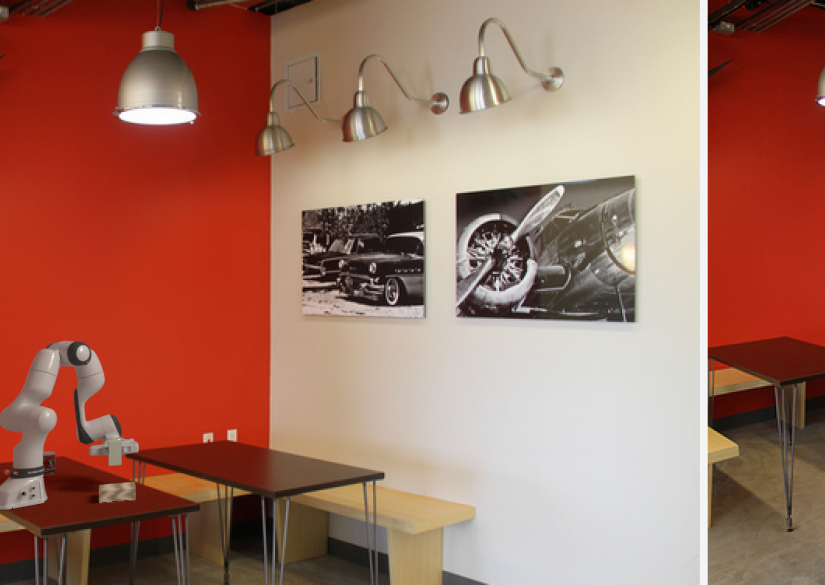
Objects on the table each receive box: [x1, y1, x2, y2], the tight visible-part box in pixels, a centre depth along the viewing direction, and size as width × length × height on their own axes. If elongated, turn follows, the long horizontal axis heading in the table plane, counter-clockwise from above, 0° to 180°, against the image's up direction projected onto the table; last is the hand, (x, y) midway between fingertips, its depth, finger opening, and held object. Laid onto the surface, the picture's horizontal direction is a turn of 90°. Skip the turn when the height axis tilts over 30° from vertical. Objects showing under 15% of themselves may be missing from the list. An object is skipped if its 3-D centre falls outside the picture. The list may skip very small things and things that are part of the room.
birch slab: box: [98, 481, 137, 504], centre depth 331 cm, size 14×14×5 cm
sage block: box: [107, 440, 123, 467], centre depth 345 cm, size 5×5×10 cm
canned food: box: [43, 451, 56, 478], centre depth 379 cm, size 8×8×11 cm
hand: (115, 451), depth 344 cm, fingers closed on sage block, 5 cm apart
